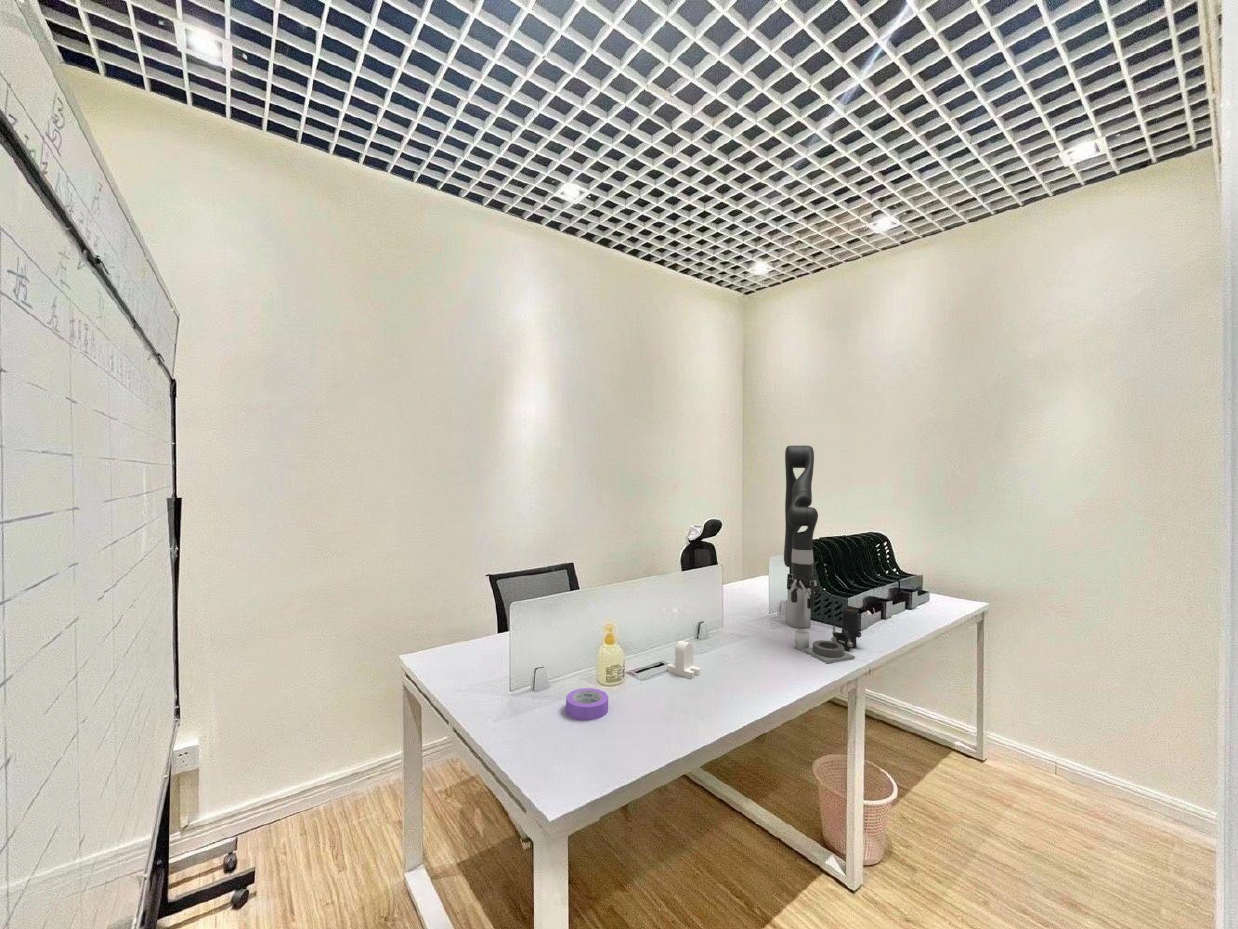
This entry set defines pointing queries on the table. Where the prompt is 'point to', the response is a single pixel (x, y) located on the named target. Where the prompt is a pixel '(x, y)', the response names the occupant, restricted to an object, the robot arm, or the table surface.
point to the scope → (848, 629)
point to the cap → (801, 639)
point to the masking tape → (589, 711)
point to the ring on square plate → (828, 651)
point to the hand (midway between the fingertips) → (802, 605)
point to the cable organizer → (684, 661)
